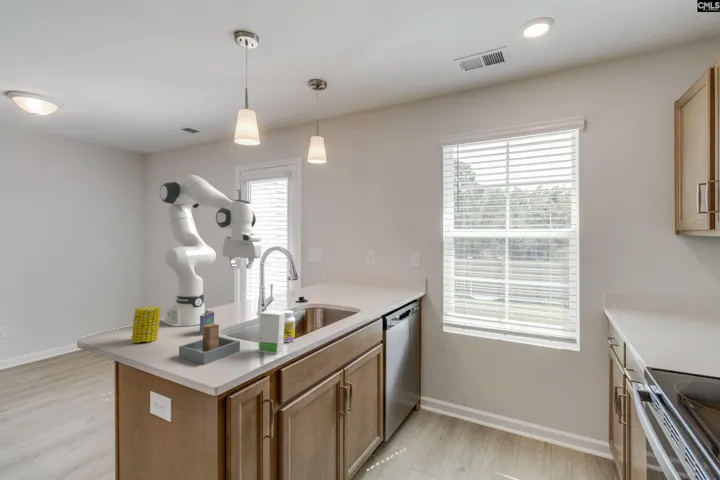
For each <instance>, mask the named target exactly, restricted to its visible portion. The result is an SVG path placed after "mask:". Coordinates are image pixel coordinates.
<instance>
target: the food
mask: <svg viewBox="0 0 720 480" xmlns="http://www.w3.org/2000/svg"><path fill="white" fill-rule="evenodd" d="M160 318H161V307H160V306H159V307H158V306H151V305H148V306H146V305H145V306H141V307H137V308H135V310H134V316H133V319H132V321H133V323H132V332H131V333H132V335H131V341H132V342H131V343H133V344H134V343H135V344H138V343H143V342H144V343H145V342H146V343H149V342H151V343H152V342H155V341H156V340H158V339H159V338H158V336H159V326H160V320H161V319H160Z"/></svg>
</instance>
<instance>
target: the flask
mask: <svg viewBox="0 0 720 480" xmlns="http://www.w3.org/2000/svg"><path fill="white" fill-rule="evenodd" d="M204 311H205V313H204V314H202V315H200V324H199V335H200V336H203V326H204V325H208V324H215V311H213V310H209V309H207V308H205V310H204Z"/></svg>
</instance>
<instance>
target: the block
mask: <svg viewBox="0 0 720 480" xmlns="http://www.w3.org/2000/svg"><path fill="white" fill-rule="evenodd" d="M219 334H220V325H219V324H217V323H214V324H208V325H204V326H203V335H202V339H203V345H202V351H204V352H206V351H209V350H212V349H215V348H218V347H219Z"/></svg>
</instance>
